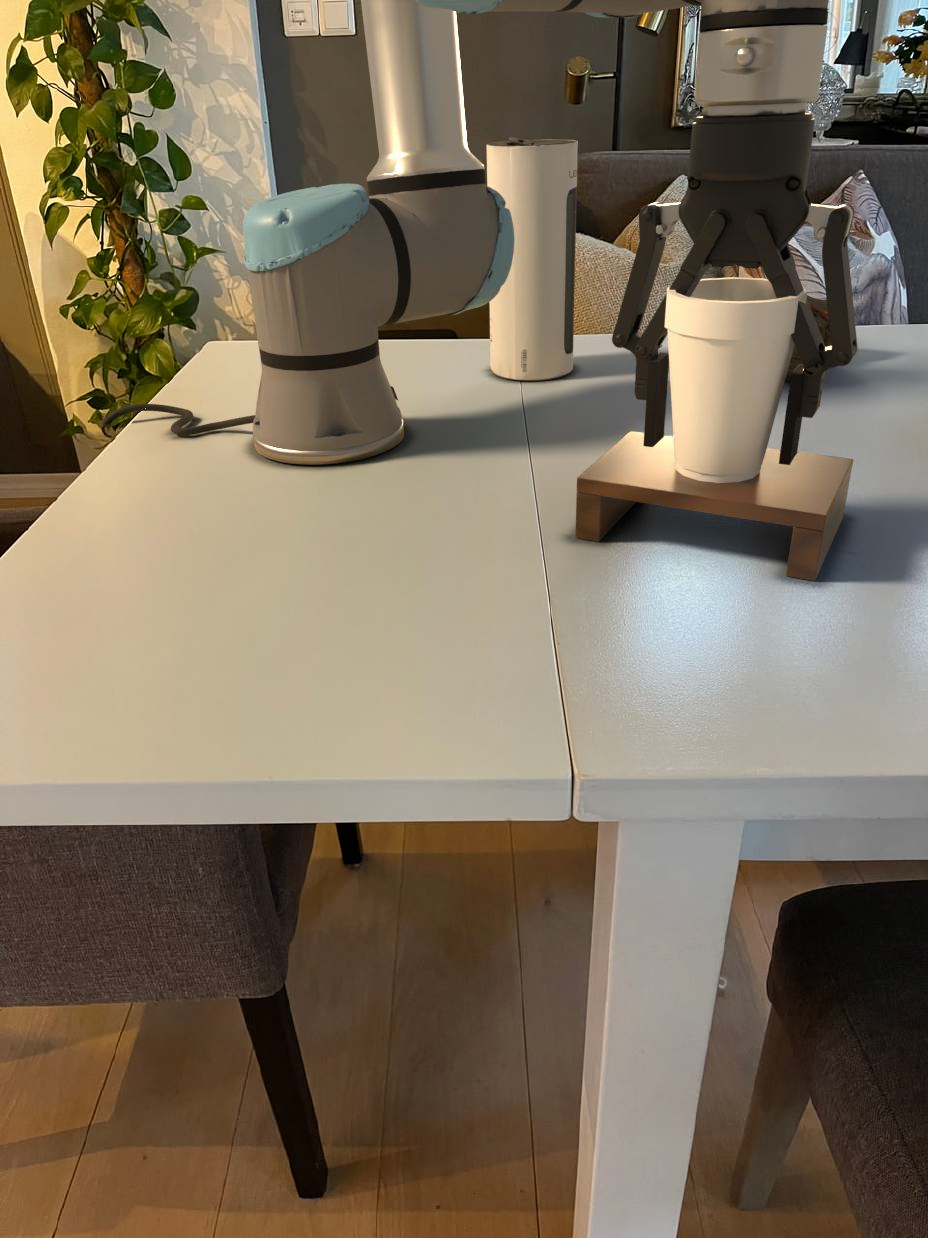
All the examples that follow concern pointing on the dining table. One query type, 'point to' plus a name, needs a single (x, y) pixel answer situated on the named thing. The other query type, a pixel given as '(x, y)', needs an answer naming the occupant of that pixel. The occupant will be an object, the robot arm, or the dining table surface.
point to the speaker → (535, 259)
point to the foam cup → (727, 374)
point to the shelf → (720, 495)
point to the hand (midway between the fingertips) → (718, 449)
